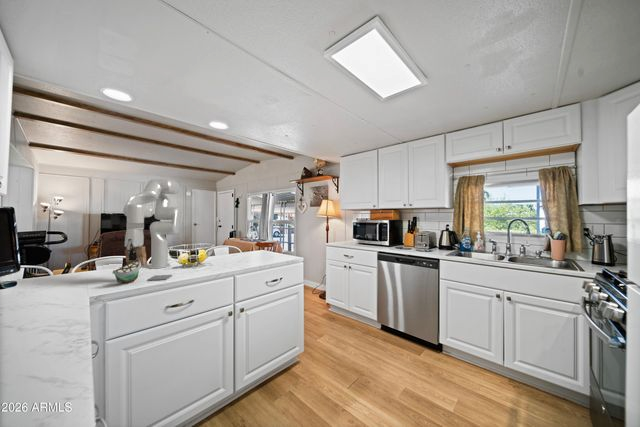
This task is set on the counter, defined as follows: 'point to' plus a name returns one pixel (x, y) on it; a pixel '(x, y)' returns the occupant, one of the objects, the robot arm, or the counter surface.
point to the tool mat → (159, 277)
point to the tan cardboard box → (137, 256)
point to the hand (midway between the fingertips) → (134, 259)
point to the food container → (128, 272)
